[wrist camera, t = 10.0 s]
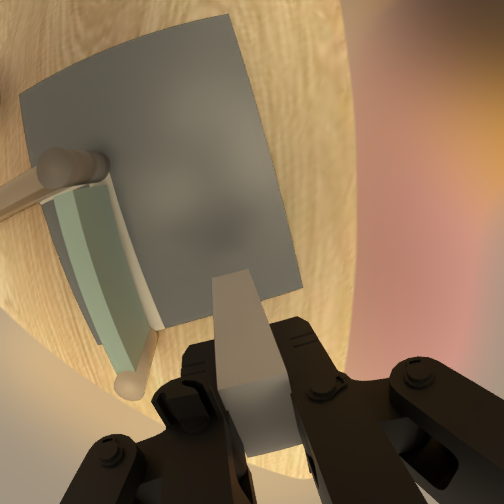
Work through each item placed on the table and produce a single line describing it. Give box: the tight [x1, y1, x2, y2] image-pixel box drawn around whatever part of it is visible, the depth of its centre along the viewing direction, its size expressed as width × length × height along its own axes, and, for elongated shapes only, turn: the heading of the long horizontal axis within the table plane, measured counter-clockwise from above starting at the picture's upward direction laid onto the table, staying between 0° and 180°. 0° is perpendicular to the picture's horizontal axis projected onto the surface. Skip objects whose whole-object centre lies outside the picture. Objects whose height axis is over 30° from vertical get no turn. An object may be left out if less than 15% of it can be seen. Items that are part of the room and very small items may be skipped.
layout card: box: [19, 14, 303, 345], centre depth 19 cm, size 20×16×1 cm
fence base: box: [0, 147, 110, 222], centre depth 15 cm, size 2×13×7 cm, turn 106°
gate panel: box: [53, 185, 158, 401], centre depth 17 cm, size 12×2×6 cm, turn 12°
